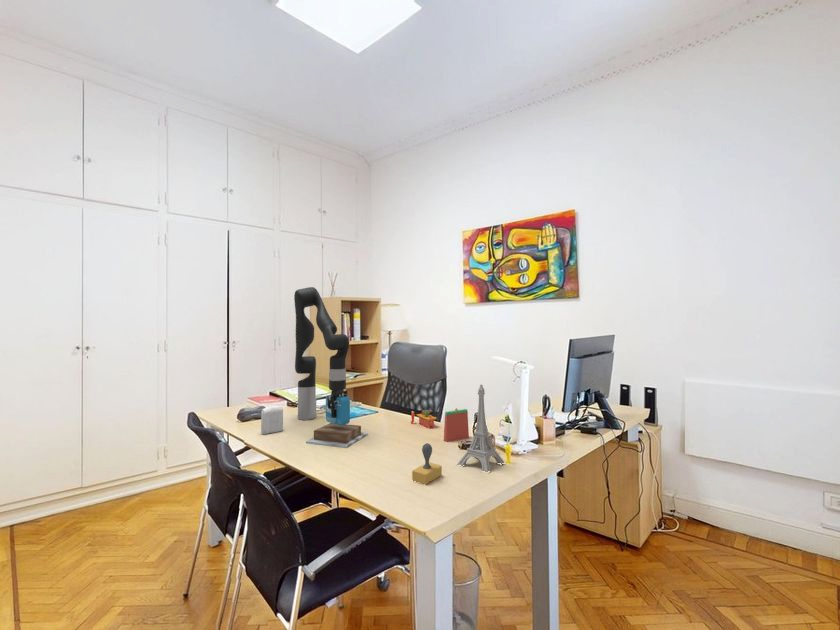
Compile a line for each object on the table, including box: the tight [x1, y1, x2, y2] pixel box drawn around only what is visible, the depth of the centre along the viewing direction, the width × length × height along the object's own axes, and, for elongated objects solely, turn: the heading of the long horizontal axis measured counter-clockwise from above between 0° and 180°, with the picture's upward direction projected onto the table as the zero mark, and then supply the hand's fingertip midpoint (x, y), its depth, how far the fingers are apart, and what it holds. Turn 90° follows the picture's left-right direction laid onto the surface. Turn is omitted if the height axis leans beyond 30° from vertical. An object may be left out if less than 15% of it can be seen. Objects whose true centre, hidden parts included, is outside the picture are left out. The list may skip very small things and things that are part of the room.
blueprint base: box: [305, 422, 369, 449], centre depth 187 cm, size 20×20×5 cm
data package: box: [325, 394, 351, 425], centre depth 187 cm, size 12×4×12 cm, turn 49°
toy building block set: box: [410, 408, 470, 443], centre depth 201 cm, size 12×35×14 cm, turn 30°
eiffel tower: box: [456, 384, 505, 472], centre depth 156 cm, size 13×13×30 cm
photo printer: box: [260, 405, 284, 435], centre depth 198 cm, size 10×4×12 cm, turn 134°
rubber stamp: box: [411, 442, 443, 485], centre depth 143 cm, size 10×6×12 cm, turn 144°
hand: (337, 415), depth 187 cm, fingers closed on data package, 5 cm apart
